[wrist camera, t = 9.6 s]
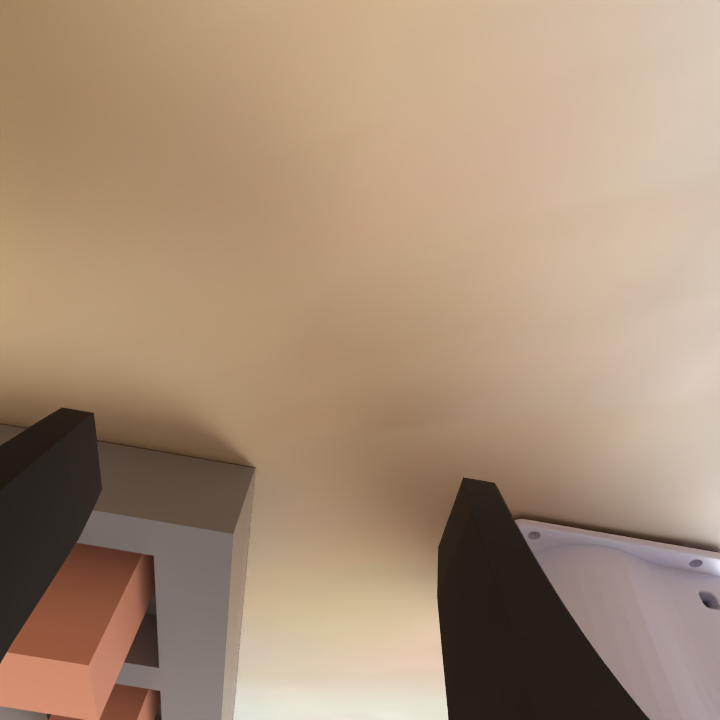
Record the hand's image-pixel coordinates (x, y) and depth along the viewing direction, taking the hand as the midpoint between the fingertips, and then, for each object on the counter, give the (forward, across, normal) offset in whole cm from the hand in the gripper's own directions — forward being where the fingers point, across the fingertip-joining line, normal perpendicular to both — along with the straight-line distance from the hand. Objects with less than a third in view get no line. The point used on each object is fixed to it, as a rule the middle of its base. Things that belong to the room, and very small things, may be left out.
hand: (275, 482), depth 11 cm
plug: (+8, +8, +15) cm, 19 cm away
